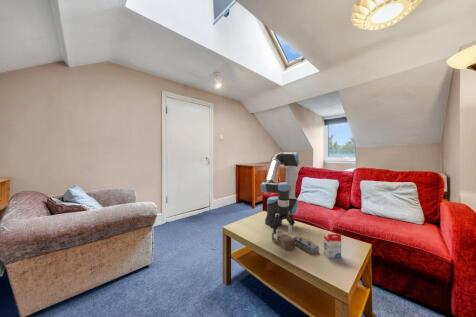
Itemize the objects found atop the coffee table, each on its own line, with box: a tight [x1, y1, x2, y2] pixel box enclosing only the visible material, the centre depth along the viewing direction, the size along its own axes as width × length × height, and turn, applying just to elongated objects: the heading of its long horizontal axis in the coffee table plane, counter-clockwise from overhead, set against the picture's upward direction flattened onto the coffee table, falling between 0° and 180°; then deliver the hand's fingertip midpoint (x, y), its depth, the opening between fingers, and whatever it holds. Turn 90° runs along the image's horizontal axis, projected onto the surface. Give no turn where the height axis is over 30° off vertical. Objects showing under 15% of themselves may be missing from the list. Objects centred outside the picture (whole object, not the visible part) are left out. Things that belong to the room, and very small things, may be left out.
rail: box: [293, 233, 320, 256], centre depth 120 cm, size 16×6×8 cm, turn 30°
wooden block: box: [271, 230, 296, 252], centre depth 124 cm, size 15×7×6 cm, turn 30°
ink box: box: [323, 233, 342, 259], centre depth 111 cm, size 8×5×15 cm, turn 92°
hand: (283, 236), depth 124 cm, fingers open, 13 cm apart
